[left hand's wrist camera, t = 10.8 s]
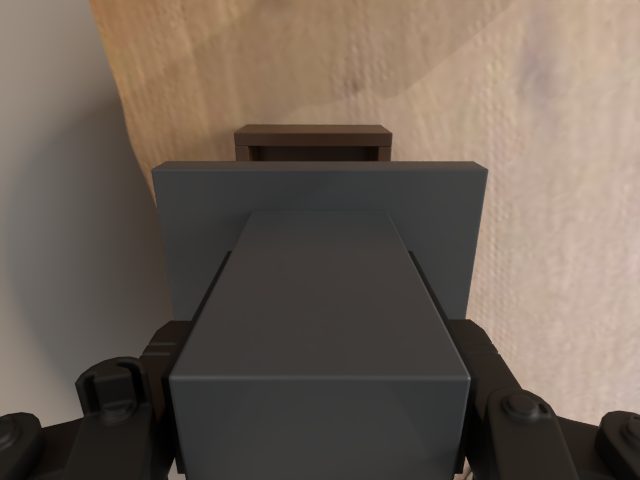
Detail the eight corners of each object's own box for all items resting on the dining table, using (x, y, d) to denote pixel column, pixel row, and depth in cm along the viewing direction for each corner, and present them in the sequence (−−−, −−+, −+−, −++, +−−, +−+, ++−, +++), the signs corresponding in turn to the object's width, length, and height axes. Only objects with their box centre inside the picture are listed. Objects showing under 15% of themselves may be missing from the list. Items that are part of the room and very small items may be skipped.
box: (246, 124, 36) (233, 132, 31) (381, 124, 36) (392, 133, 31) (260, 348, 45) (252, 386, 40) (368, 348, 45) (375, 386, 40)
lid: (181, 152, 18) (-84, 296, 6) (458, 152, 18) (723, 297, 6) (213, 403, 23) (102, 740, 11) (426, 403, 23) (536, 740, 11)
